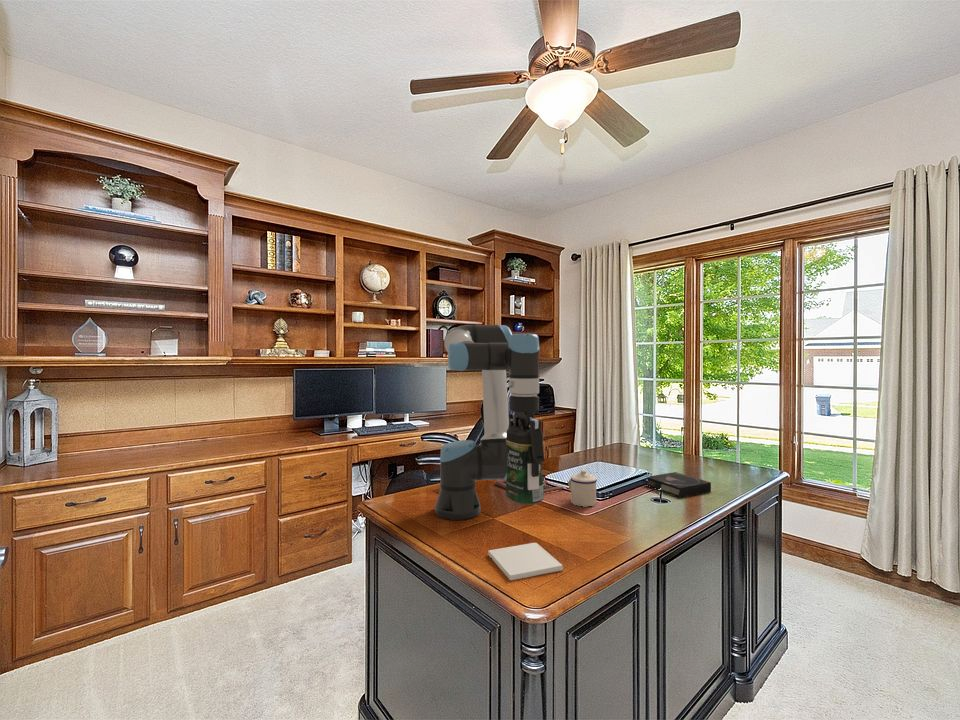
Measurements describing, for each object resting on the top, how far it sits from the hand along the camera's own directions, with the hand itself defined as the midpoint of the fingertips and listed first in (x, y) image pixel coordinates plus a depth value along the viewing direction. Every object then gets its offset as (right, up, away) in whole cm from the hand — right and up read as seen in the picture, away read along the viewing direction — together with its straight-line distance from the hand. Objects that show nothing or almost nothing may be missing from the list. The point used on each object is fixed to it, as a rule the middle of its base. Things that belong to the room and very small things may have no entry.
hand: (524, 483), depth 112 cm
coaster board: (0, -20, 0) cm, 20 cm away
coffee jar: (0, -4, 0) cm, 4 cm away
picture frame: (+11, -20, +65) cm, 69 cm away
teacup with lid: (+25, -20, +46) cm, 56 cm away
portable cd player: (+66, -20, +61) cm, 92 cm away
